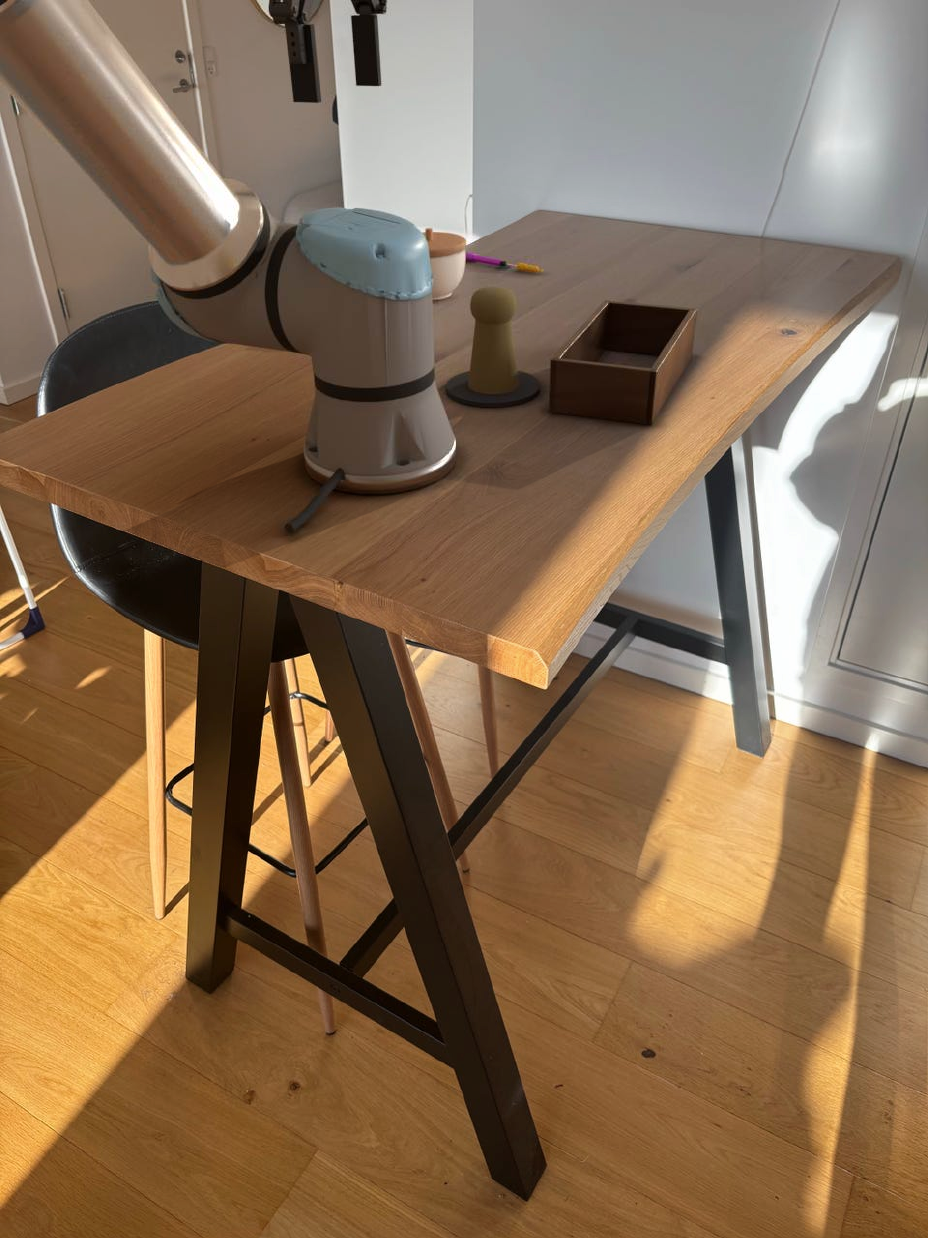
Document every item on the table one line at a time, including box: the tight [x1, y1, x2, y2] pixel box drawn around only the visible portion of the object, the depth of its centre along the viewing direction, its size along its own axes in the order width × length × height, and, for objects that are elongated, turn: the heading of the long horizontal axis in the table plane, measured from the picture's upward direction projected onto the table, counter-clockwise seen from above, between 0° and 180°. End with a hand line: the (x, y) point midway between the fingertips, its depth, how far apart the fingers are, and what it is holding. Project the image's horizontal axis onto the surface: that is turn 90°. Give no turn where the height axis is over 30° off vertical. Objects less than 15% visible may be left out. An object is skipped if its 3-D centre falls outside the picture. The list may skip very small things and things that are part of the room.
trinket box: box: [422, 227, 467, 301], centre depth 145 cm, size 11×11×9 cm
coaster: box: [445, 370, 541, 408], centre depth 115 cm, size 11×11×1 cm
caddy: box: [548, 299, 698, 426], centre depth 114 cm, size 23×12×6 cm, turn 158°
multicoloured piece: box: [465, 252, 544, 274], centre depth 159 cm, size 3×1×16 cm
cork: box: [468, 286, 519, 394], centre depth 112 cm, size 6×6×11 cm
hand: (339, 93), depth 101 cm, fingers open, 13 cm apart
